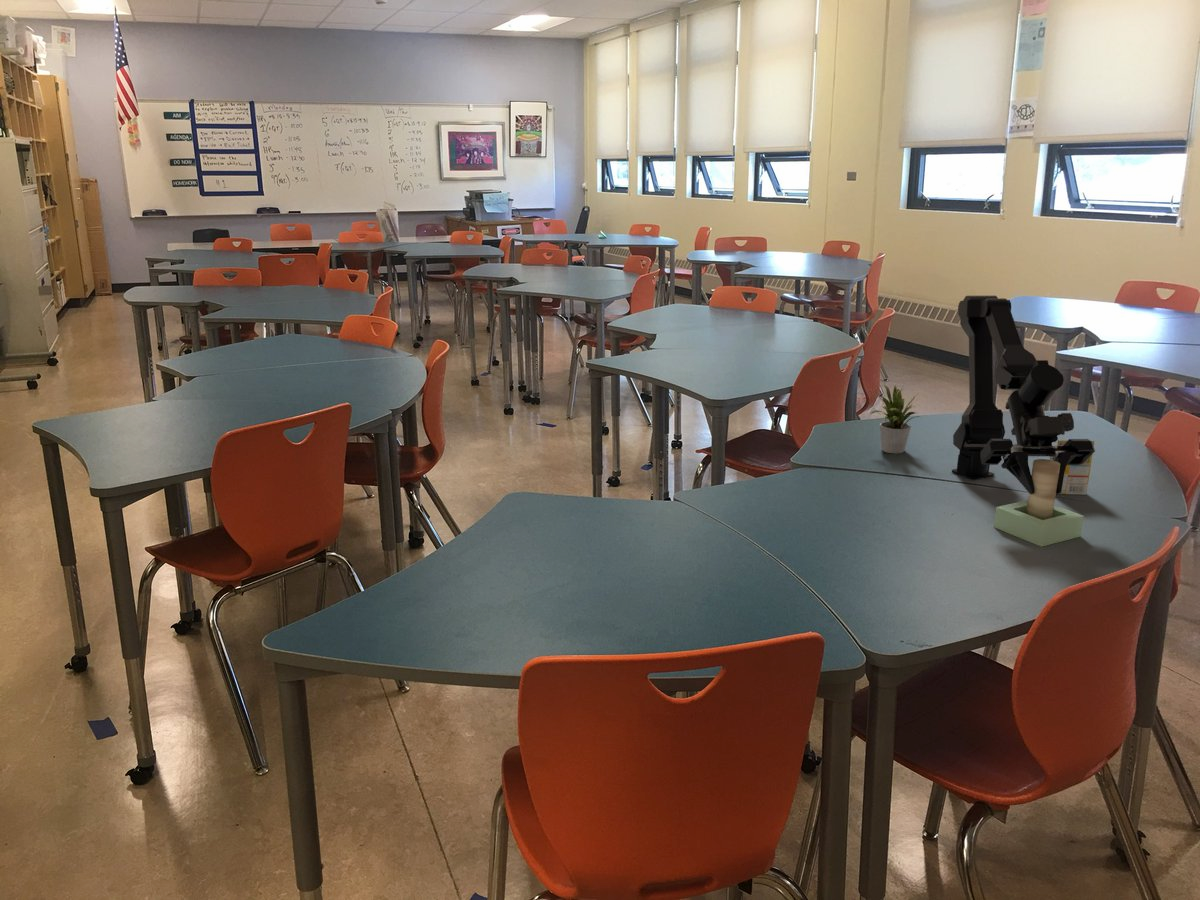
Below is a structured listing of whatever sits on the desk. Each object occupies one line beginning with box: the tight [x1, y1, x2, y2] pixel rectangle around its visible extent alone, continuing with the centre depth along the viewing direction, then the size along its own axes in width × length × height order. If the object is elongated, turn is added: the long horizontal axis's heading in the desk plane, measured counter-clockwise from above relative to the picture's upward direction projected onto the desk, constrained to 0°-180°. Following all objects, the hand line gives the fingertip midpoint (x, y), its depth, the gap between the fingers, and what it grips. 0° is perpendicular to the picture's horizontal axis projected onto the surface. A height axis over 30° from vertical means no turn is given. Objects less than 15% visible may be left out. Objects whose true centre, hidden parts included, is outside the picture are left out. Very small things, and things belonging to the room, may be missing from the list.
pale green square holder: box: [993, 499, 1085, 547], centre depth 167 cm, size 10×10×4 cm
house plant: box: [866, 383, 926, 454], centre depth 215 cm, size 14×14×16 cm
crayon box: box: [1056, 440, 1095, 496], centre depth 186 cm, size 7×3×12 cm, turn 84°
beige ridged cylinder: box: [1026, 458, 1060, 520], centre depth 165 cm, size 4×4×12 cm
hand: (1045, 493), depth 164 cm, fingers closed on beige ridged cylinder, 4 cm apart
